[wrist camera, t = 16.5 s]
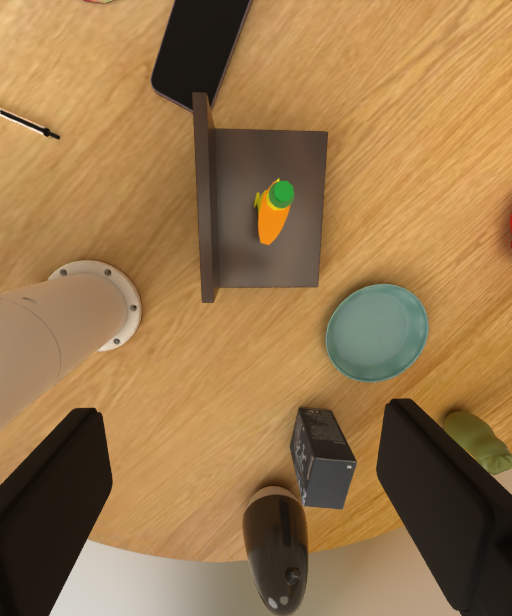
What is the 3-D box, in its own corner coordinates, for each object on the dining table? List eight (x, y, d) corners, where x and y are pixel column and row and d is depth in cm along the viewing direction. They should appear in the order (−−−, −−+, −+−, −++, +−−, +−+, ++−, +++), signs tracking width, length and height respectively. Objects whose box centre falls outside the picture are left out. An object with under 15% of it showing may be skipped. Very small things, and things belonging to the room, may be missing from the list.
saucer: (312, 294, 39) (317, 298, 37) (413, 269, 39) (425, 272, 37) (328, 383, 43) (334, 393, 41) (420, 361, 43) (432, 369, 41)
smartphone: (147, 86, 31) (196, -74, 28) (150, 91, 32) (198, -63, 29) (207, 119, 32) (262, -31, 29) (208, 122, 33) (261, -22, 30)
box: (297, 406, 44) (315, 457, 34) (331, 409, 44) (359, 461, 34) (288, 447, 46) (302, 508, 36) (321, 450, 46) (344, 511, 36)
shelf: (212, 283, 38) (201, 302, 28) (207, 137, 34) (192, 91, 23) (312, 283, 39) (339, 301, 28) (320, 140, 34) (357, 97, 24)
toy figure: (272, 245, 34) (289, 251, 23) (244, 237, 34) (247, 239, 22) (287, 189, 33) (314, 164, 21) (258, 180, 32) (269, 150, 21)
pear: (464, 399, 45) (524, 443, 36) (470, 424, 47) (531, 473, 37) (432, 412, 46) (483, 460, 36) (439, 437, 47) (491, 489, 37)
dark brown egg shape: (309, 481, 48) (340, 590, 33) (288, 525, 50) (308, 646, 36) (253, 468, 47) (259, 576, 32) (234, 515, 49) (232, 635, 34)
